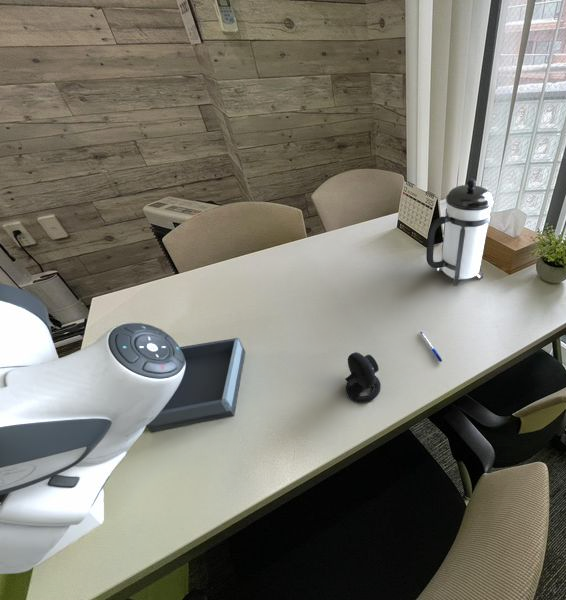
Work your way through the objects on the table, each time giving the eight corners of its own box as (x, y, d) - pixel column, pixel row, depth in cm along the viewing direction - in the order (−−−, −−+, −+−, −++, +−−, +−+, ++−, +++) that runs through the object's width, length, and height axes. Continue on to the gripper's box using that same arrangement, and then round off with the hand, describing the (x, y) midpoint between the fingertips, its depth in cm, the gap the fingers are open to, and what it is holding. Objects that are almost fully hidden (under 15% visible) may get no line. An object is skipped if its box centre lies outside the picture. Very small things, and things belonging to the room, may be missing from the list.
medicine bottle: (104, 489, 49) (53, 432, 43) (105, 523, 43) (46, 464, 38) (41, 527, 45) (-24, 470, 40) (33, 569, 40) (-43, 510, 34)
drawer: (245, 352, 78) (234, 327, 73) (234, 416, 64) (220, 392, 60) (177, 363, 75) (162, 339, 70) (151, 433, 62) (129, 409, 57)
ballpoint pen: (443, 361, 75) (443, 358, 75) (439, 362, 75) (440, 359, 74) (421, 332, 83) (421, 330, 82) (418, 333, 82) (418, 331, 82)
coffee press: (441, 257, 112) (449, 167, 93) (487, 267, 107) (505, 174, 88) (424, 284, 100) (429, 186, 81) (475, 296, 95) (493, 196, 76)
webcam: (388, 390, 69) (387, 359, 63) (360, 411, 65) (355, 379, 59) (366, 369, 74) (363, 337, 68) (338, 387, 70) (332, 355, 64)
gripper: (98, 356, 43) (60, 414, 47) (-18, 534, 27) (-60, 597, 31) (152, 371, 46) (111, 424, 51) (76, 537, 31) (27, 593, 35)
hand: (45, 492), depth 41 cm, fingers closed on medicine bottle, 7 cm apart
